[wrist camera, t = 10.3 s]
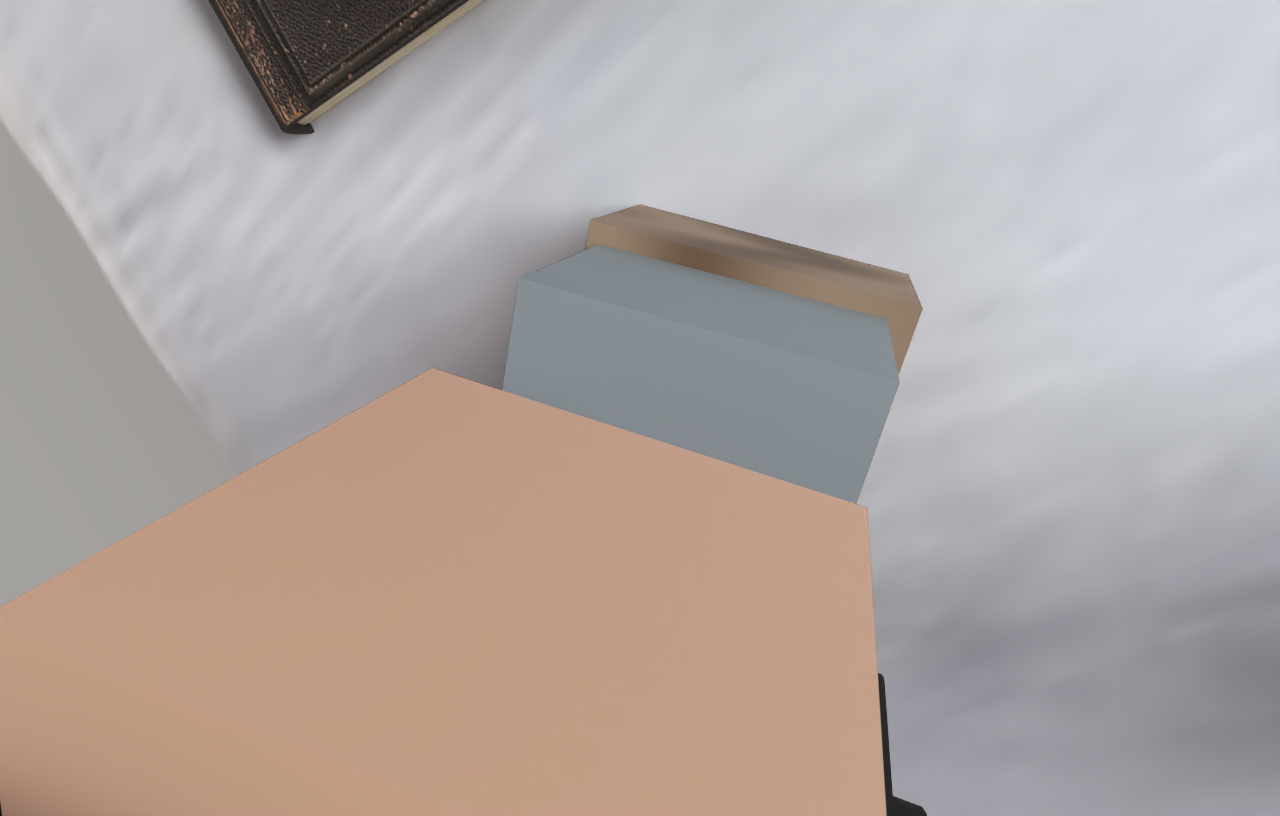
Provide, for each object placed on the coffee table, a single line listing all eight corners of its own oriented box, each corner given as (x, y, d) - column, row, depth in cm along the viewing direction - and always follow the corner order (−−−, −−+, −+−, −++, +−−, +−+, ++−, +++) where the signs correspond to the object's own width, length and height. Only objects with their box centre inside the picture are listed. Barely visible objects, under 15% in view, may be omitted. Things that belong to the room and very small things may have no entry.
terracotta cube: (867, 507, 10) (896, 997, 4) (736, 841, 12) (642, 1445, 6) (431, 367, 11) (-20, 617, 5) (386, 702, 13) (38, 1130, 7)
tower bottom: (908, 273, 22) (922, 308, 17) (823, 513, 25) (816, 596, 20) (641, 203, 23) (590, 219, 19) (591, 440, 26) (536, 504, 22)
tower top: (886, 318, 18) (899, 382, 13) (800, 571, 20) (786, 698, 16) (599, 244, 19) (518, 278, 14) (553, 493, 21) (472, 589, 17)
